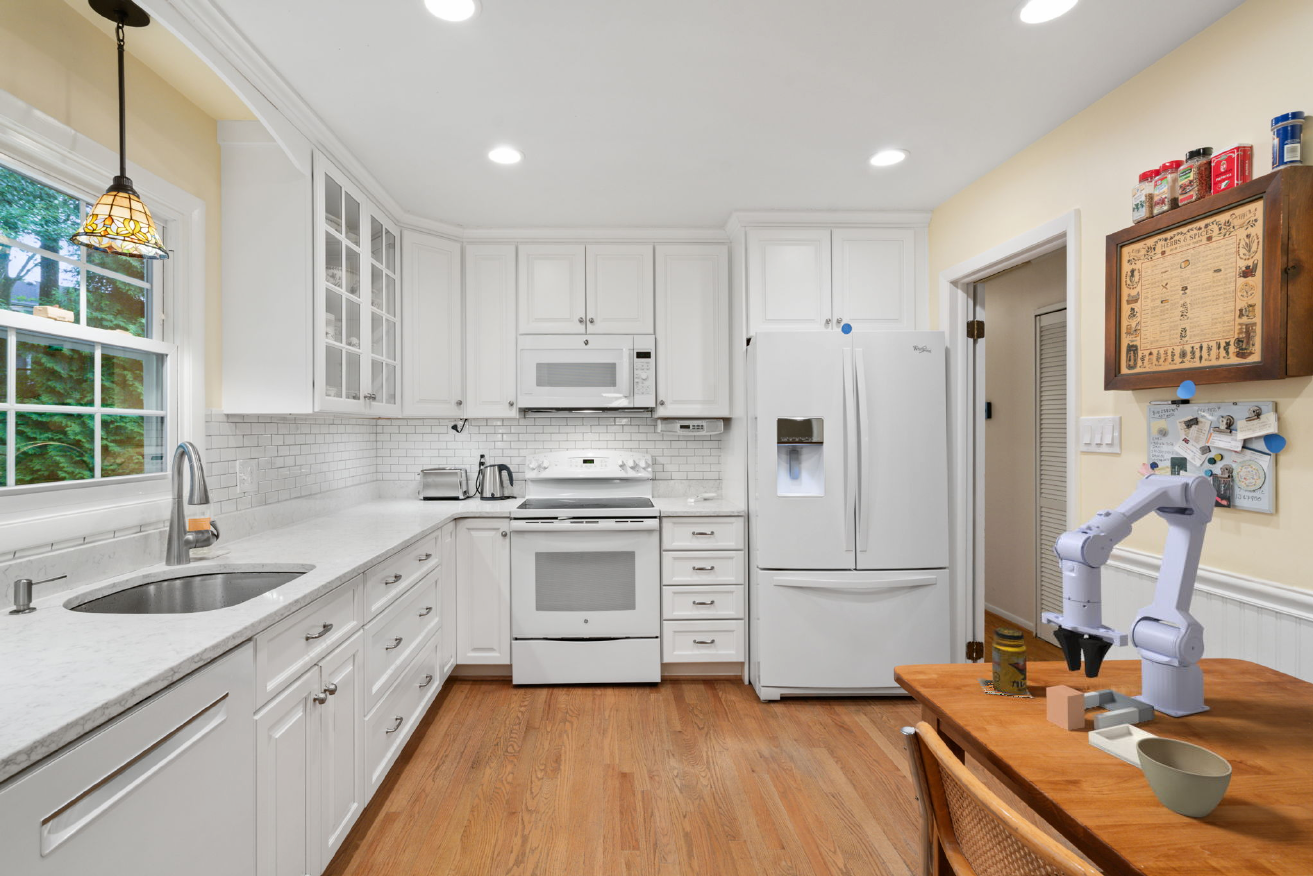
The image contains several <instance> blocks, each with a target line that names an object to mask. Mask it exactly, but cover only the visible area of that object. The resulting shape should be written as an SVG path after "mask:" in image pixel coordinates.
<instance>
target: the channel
mask: <svg viewBox="0 0 1313 876" xmlns="http://www.w3.org/2000/svg"><path fill="white" fill-rule="evenodd" d="M1083 693H1084V692H1083ZM1084 705H1085V710H1087V709H1086V708H1089V709H1092V707H1094V708H1096V707H1095V706H1099V694H1098V693H1096V692H1095V691H1091V692H1085V693H1084ZM1099 707H1100V706H1099ZM1123 724H1129V725H1135V724H1139V715H1138V709H1136V708H1134V707H1130V708H1125V709H1121V710H1116V711H1107V712H1103V713H1102V712H1101V713H1096V714H1093V729H1094V730H1099V729H1104V728H1109V727H1113V726H1118V725H1123Z"/></svg>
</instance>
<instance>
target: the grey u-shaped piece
mask: <svg viewBox="0 0 1313 876" xmlns="http://www.w3.org/2000/svg"><path fill="white" fill-rule="evenodd" d="M1094 692H1096V693H1098V694H1099V707H1100V706H1101V707H1100V708H1102V707H1103V708H1102V709H1104V708H1106V709H1105V710H1107V711H1109V710H1110V711H1109V712H1111V711H1116V710H1121V709H1125V708H1130V707H1134V708H1136V709H1138V715H1139V722H1140V723H1145V722H1149V721H1153V719H1154V720H1155V709H1154V706H1152V705H1150V704H1147V703H1145V702H1142V701H1139V700H1137V699H1134V698H1132V697H1133V696H1128V695H1127V694H1123V693H1121V692H1118V691H1116V690H1113V689H1110V688H1107V689H1101V690H1096V691H1094ZM1148 720H1149V721H1148ZM1144 721H1145V722H1144Z"/></svg>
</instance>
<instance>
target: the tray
mask: <svg viewBox="0 0 1313 876" xmlns="http://www.w3.org/2000/svg"><path fill="white" fill-rule="evenodd" d="M1149 737H1159V738H1161V737H1160V736H1158V735H1155V734H1152V733H1150V732H1149V731H1145V730H1143V729H1141V728H1138V727H1136V726H1134V725H1133V724H1131V725H1129V724H1123V725H1118V726H1113V727H1109V728H1104V729H1099V730H1096V729H1094V730H1091V731H1088V745H1091V746H1093V747H1095V748H1097V749H1099V750H1100V751H1102V752H1105V753H1107V754H1109V755H1111V756H1113V757H1115V758H1118V759H1119V760H1121V761H1124V762H1125V763H1128V764H1130V765H1132V766H1134V767H1136V768H1137V769H1139V770H1142V767H1141V764H1140V761H1139V758H1138V754H1137V748H1136V743H1137V741H1139V740H1140V739H1143V738H1149Z"/></svg>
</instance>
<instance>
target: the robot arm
mask: <svg viewBox="0 0 1313 876" xmlns="http://www.w3.org/2000/svg"><path fill="white" fill-rule="evenodd" d="M1217 494H1218V492H1217V490H1216V488H1215V486H1214V485H1213V483H1212V481H1211V480H1210V479H1209V478H1208V477H1207V476H1204V475H1194V476H1192V475H1173V474H1158V473H1153V472H1152V473H1148V474H1146V475H1144V476H1143V477H1142V478H1141V479H1139V480H1138V481H1137V484H1136V490H1135V491H1134V492H1132V493H1131V494H1130V495H1129V496H1128V497H1127V498H1126V499H1125V500H1124V501H1123V502H1122V503H1120V505H1119V506H1117V507H1116V508H1115V509H1100V510H1098V511H1097V512H1096V515H1094V516H1093V517H1092V518H1090V519H1088V521H1087V522H1085V523H1084V524H1081V525H1080V526H1079V528H1077V529H1075V531H1073V530H1070V531H1069V530H1068V531H1064V532H1063V533H1062V534H1060V535H1059V536H1058V537H1057V538H1056V540H1055V545H1053V553H1054V555H1055V556H1056V558H1057V560H1058V566H1059V567H1058V568H1060V570H1061V571H1062V609H1063V610H1062V614H1061V613H1057V612H1053V611H1045V612H1041V623H1043V624H1046V625H1047V624H1048V625H1053V626H1056V627H1058V628H1057V629H1055V630H1053V631H1052V632H1053V633H1052V634H1053V636H1054V638H1055V639H1056V641H1057V642H1058V644H1059V646H1060V647H1061V651H1062V652H1063V653H1062V654H1063V655H1064V658H1065V661H1066V665H1067V668H1068V671H1070V672H1076V671H1077V672H1078V671H1081V667H1082V654H1083V660H1084V673H1085V677H1086V678H1088V679H1094V678H1098V677H1099V673H1100V670H1101V667H1102V663H1103V660H1104V659H1105V656H1106V655H1107V654H1108V652H1109V650H1111V648H1112V646H1113V645H1114V646H1116V647H1119V648H1120V647H1127V646H1129V641H1130V642H1131V643H1130V644H1132V646H1133V647H1134V648H1136V651H1137V653H1136V654H1139V655H1141V657H1140V658H1141V659H1140V660H1141V661H1140V662H1141V695H1139V694H1138V695H1136V696H1131V697H1132V698H1134V699H1137V700H1139V701H1142V702H1145V703H1147V704H1150V705H1152V706H1154V710H1156V711H1159V712H1161V713H1163V714H1166V715H1169V716H1170V717H1171V716H1172V717H1176V718H1178V717H1183V716H1186V715H1191V714H1196V713H1201V712H1206V711H1210V710H1211V709H1210V706H1207V705H1205V698H1204V697H1205V693H1204V692H1205V689H1204V686H1205V684H1204V673H1203V670H1202V669H1201V667H1200V665H1199V664H1198V662H1199V661H1200V660H1201V659H1202V657H1203V656H1204V652H1205V644H1204V631H1205V628H1204V626H1203V625H1202V623H1200V622H1199V621H1198V620H1197V619H1196V618H1195V617H1194V616H1193V615H1192V614H1191V613H1190V608H1191V605H1192V599H1193V595H1194V594H1193V593H1194V589H1195V585H1196V580H1197V579H1196V578H1197V575H1198V570H1199V564H1200V559H1201V557H1202V556H1201V555H1202V550H1203V545H1204V541H1205V536H1206V531H1207V527H1208V524H1209V523H1211V522H1212V519H1213V513H1214V510H1215V504H1216V501H1217ZM1152 512H1154V513H1155V514H1156V515H1157V516H1158V517H1160V518H1162V519H1164V520H1165V522H1166V524H1168V529H1167V535H1166V539H1165V546H1164V549H1163V554H1162V559H1161V563H1160V569H1159V572H1158V577H1157V583H1156V588H1155V591H1154V597H1153V602H1152V603H1151V604H1149V605H1146V606H1144V607H1141V608H1139V609H1138V610H1137V613H1136V617H1135V618H1134V620H1133V622H1132V623H1131V625H1130V627H1129V629H1128V631H1129V632H1128V633H1125V632H1124V633H1123V632H1122V631H1119V630H1116V629H1114V628H1112V627H1110V626H1108V625H1105V624H1102V623H1103V622H1102V621H1103V618H1102V617H1103V615H1102V613H1103V612H1102V611H1103V610H1102V566H1104V565H1106V564H1107V562H1108V561H1109V560H1110V559H1109V558H1110V554H1111V553H1112V552H1113V550H1114V547H1116V546H1117V545H1118V544H1120V543H1121V542H1122V541H1123V540H1124V539H1126V538H1127V537H1129V536H1130V535H1131V534H1132V532H1133V524H1134V523H1136V522H1138V521H1140V520H1141V519H1142V518H1144V517H1145V516H1147V515H1149V514H1150V513H1152ZM1163 622H1167V623H1171V624H1174V625H1171V624H1167V623H1163ZM1175 625H1177V626H1178V627H1177V626H1175ZM1085 636H1087V637H1085Z"/></svg>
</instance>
